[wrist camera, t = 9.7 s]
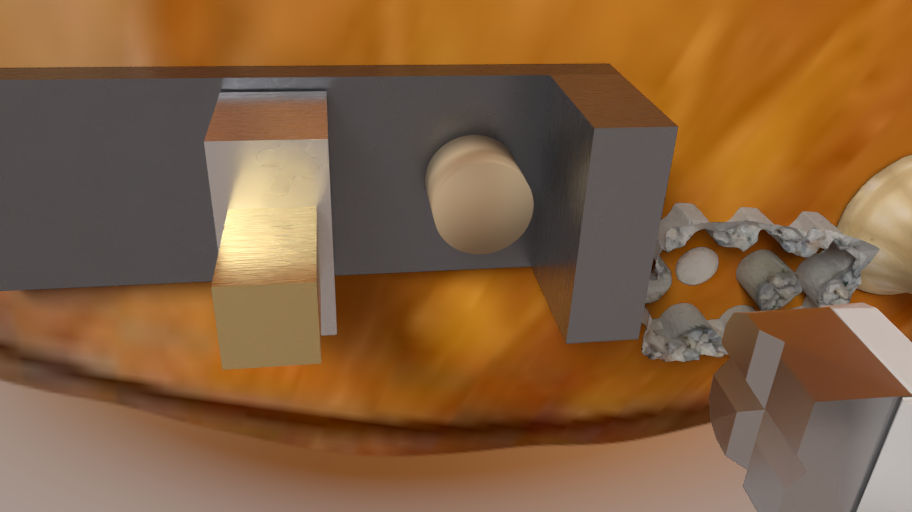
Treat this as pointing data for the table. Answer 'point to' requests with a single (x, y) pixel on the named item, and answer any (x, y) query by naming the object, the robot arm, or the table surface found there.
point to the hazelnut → (478, 195)
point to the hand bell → (884, 228)
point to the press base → (337, 175)
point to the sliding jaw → (271, 227)
